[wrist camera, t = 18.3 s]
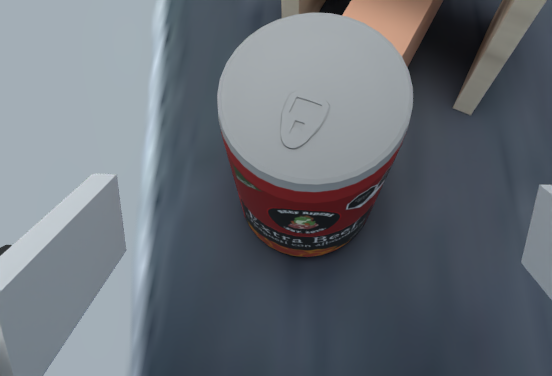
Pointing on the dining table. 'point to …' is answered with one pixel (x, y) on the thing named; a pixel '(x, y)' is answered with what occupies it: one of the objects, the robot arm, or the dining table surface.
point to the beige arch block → (492, 52)
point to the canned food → (312, 127)
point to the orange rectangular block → (397, 21)
